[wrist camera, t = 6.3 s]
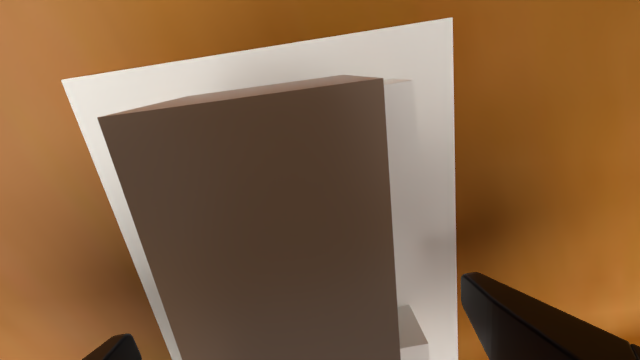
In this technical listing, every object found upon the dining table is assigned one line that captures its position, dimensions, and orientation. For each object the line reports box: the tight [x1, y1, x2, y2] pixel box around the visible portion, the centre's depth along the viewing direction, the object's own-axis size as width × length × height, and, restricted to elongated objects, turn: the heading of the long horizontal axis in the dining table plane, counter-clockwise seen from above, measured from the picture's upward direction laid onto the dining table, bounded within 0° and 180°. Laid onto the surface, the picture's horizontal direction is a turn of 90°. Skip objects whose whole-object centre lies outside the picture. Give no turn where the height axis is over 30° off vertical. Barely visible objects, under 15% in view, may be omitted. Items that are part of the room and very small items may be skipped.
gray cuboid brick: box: [97, 75, 401, 360], centre depth 8 cm, size 12×4×4 cm, turn 7°
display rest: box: [61, 17, 458, 360], centre depth 12 cm, size 12×14×3 cm
